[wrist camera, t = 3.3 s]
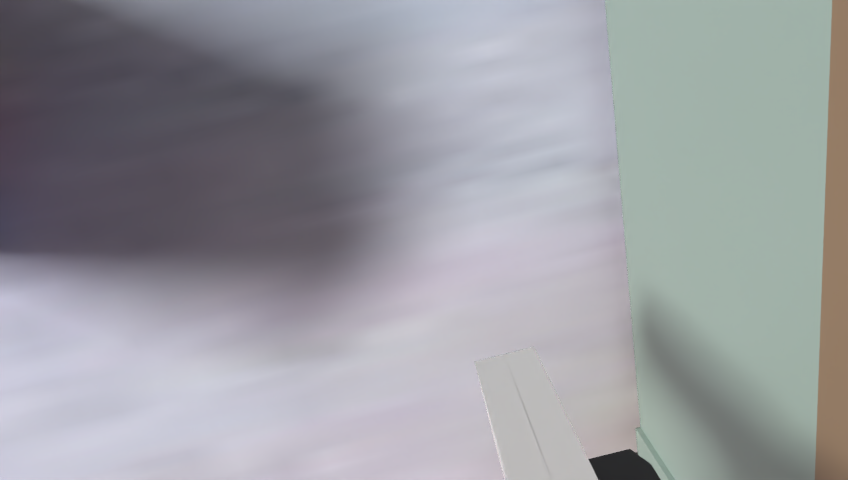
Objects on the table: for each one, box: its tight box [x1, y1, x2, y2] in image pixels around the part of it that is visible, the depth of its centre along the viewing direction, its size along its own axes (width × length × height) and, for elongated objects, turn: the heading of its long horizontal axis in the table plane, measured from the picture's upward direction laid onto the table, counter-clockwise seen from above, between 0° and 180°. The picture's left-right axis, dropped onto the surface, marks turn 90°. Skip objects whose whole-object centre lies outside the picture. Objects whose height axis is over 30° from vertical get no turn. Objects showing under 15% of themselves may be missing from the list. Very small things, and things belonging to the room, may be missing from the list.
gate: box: [605, 0, 848, 480], centre depth 15 cm, size 22×2×11 cm, turn 11°
